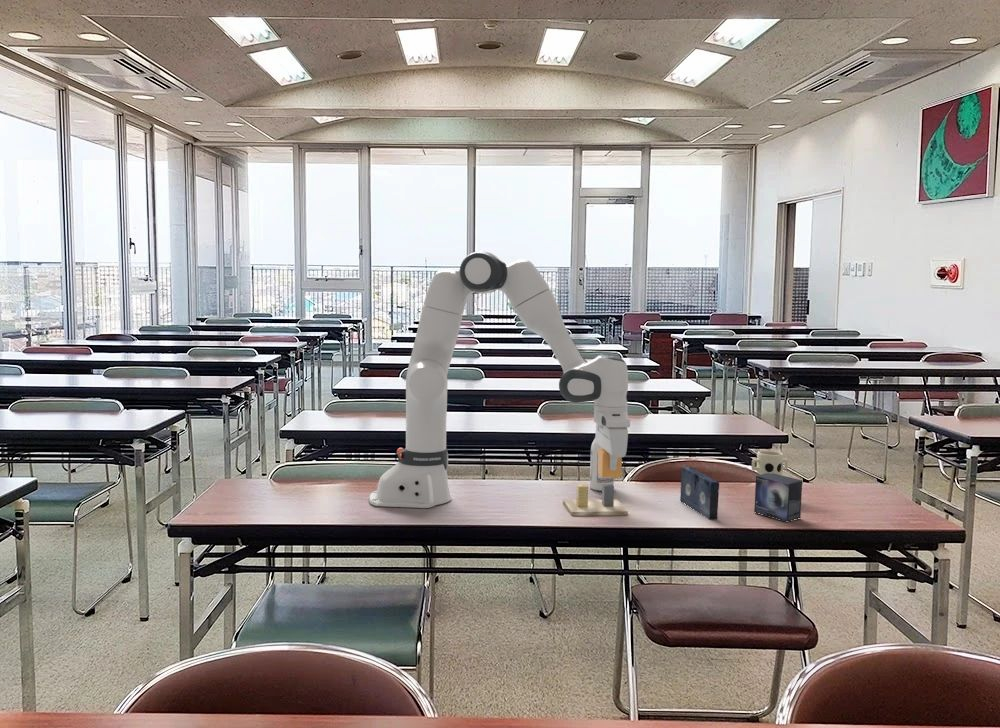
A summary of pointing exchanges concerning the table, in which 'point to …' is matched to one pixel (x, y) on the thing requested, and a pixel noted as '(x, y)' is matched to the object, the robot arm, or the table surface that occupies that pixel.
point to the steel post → (607, 495)
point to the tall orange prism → (604, 465)
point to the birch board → (594, 508)
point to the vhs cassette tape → (699, 492)
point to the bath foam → (595, 478)
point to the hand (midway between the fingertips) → (609, 466)
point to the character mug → (769, 462)
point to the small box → (778, 496)
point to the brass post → (582, 495)
